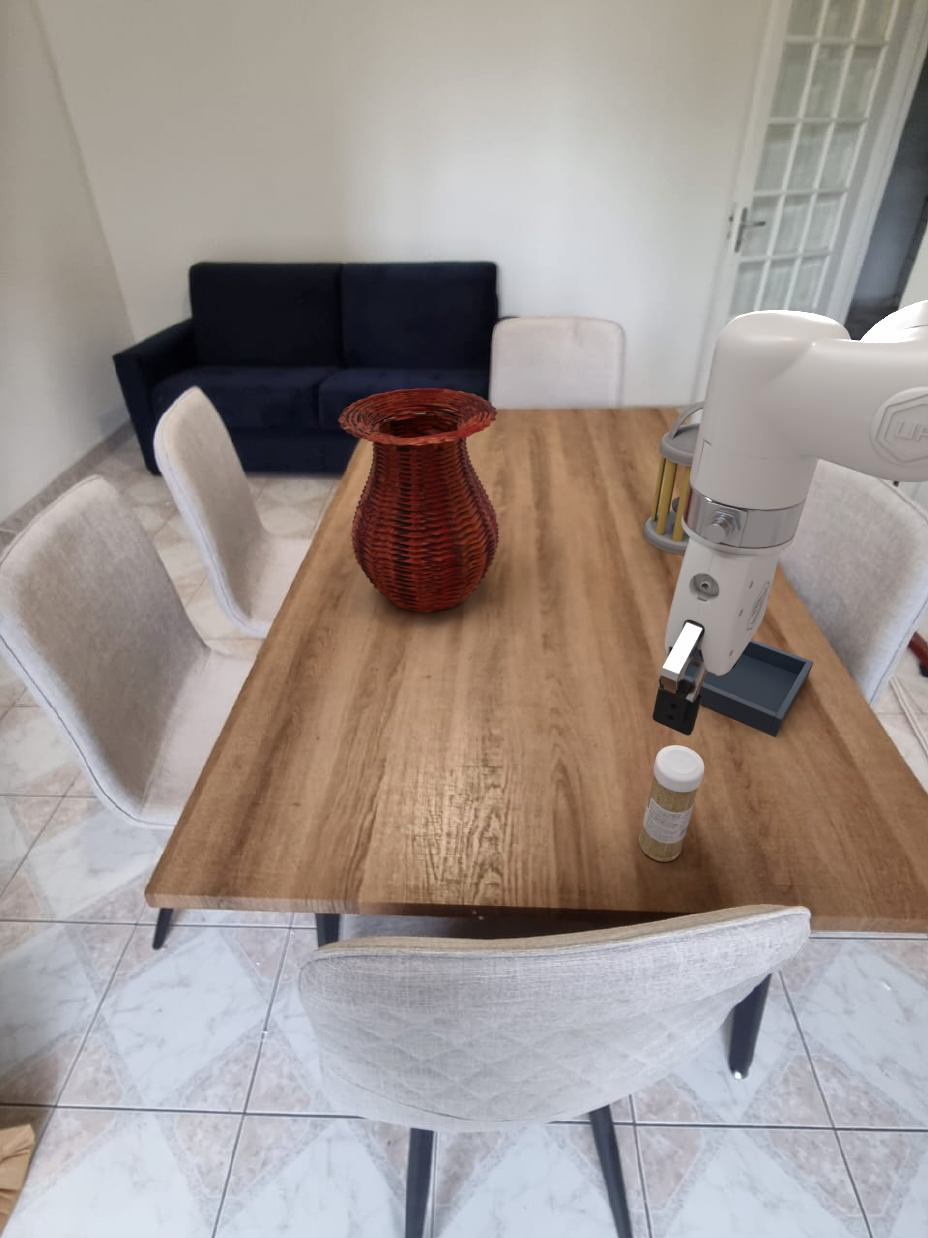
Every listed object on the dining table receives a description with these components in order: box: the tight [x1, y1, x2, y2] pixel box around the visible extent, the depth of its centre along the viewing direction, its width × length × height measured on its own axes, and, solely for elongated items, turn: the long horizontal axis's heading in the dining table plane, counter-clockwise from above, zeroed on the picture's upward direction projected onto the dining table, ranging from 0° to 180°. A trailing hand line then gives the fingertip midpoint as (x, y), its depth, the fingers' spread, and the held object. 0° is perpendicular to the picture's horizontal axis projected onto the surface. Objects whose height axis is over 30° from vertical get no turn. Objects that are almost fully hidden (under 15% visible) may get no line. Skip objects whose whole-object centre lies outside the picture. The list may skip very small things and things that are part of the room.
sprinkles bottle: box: [638, 744, 706, 862], centre depth 68 cm, size 5×5×14 cm
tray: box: [683, 638, 814, 737], centre depth 92 cm, size 16×14×3 cm
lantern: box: [643, 400, 704, 556], centre depth 117 cm, size 14×14×25 cm
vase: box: [337, 387, 500, 613], centre depth 104 cm, size 23×24×30 cm
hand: (695, 692), depth 57 cm, fingers open, 9 cm apart
